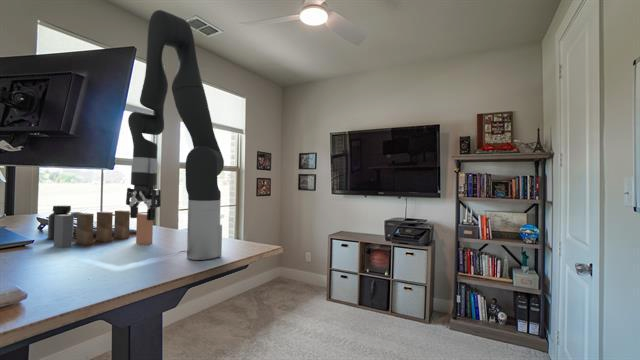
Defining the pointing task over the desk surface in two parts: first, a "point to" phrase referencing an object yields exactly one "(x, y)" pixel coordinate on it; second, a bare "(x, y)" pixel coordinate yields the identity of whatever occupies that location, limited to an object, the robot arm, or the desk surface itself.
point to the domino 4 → (144, 229)
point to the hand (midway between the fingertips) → (142, 219)
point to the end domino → (63, 231)
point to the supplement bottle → (51, 220)
